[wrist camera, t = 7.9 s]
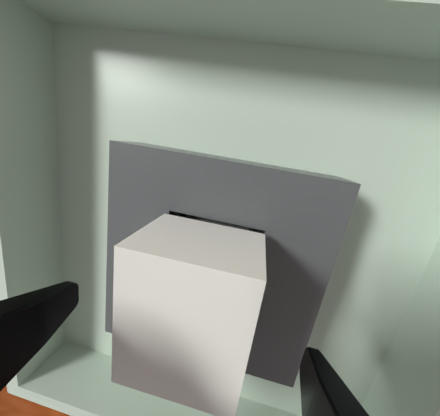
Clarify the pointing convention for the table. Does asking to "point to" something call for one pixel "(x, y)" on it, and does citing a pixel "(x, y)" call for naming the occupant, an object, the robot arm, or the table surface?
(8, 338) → the robot arm
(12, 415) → the table surface
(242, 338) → the block
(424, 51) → the walled box
